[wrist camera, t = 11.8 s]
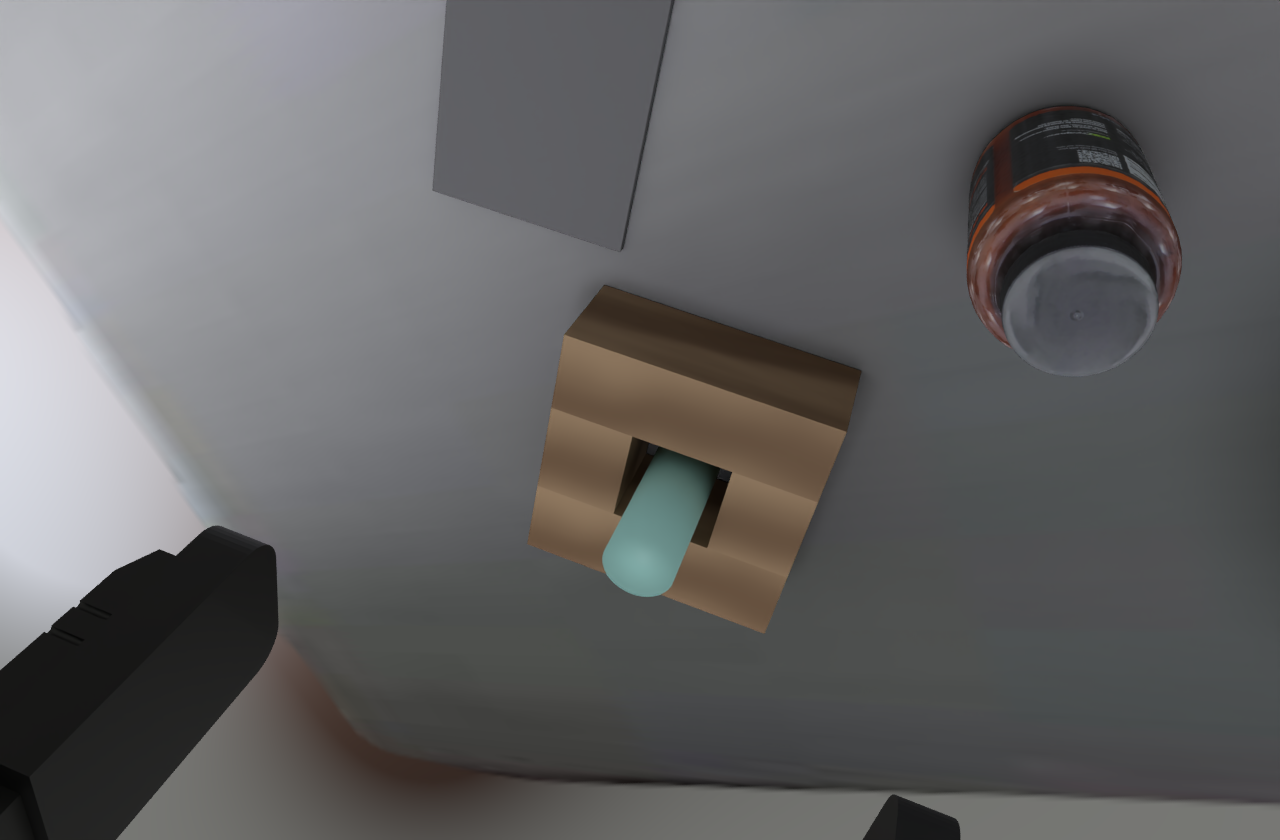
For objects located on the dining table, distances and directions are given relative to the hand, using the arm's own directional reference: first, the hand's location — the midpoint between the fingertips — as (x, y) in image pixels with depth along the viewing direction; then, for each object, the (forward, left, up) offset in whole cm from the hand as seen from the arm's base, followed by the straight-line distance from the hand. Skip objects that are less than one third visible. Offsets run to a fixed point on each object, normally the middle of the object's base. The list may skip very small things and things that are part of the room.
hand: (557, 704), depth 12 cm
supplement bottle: (+1, +8, -30) cm, 31 cm away
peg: (+17, -2, -30) cm, 35 cm away
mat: (+3, -12, -30) cm, 33 cm away
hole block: (+17, -2, -30) cm, 35 cm away
